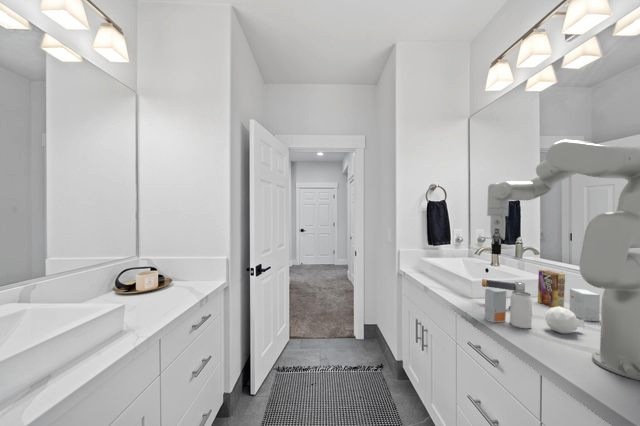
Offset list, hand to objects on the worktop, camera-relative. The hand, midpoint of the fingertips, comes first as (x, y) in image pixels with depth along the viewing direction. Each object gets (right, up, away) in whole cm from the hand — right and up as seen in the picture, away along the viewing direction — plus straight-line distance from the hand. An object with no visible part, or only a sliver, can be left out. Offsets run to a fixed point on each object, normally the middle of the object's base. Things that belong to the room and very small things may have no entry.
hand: (496, 252), depth 118 cm
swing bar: (+5, -17, +4) cm, 18 cm away
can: (-1, -25, -15) cm, 29 cm away
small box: (+31, -25, -6) cm, 41 cm away
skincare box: (-7, -25, -11) cm, 28 cm away
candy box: (+29, -25, +8) cm, 39 cm away
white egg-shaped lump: (+11, -25, -21) cm, 35 cm away
